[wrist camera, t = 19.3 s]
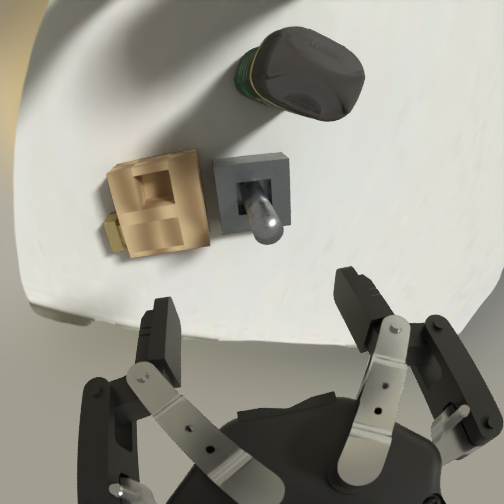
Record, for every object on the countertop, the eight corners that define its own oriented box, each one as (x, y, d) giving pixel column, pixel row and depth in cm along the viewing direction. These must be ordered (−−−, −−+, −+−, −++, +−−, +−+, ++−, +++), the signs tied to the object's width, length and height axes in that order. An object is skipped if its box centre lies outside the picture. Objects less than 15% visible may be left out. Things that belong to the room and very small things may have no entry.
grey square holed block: (212, 160, 39) (213, 167, 36) (281, 152, 40) (289, 158, 37) (221, 222, 44) (222, 234, 41) (284, 213, 45) (290, 224, 42)
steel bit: (238, 181, 40) (252, 220, 29) (260, 178, 41) (283, 216, 30) (240, 201, 42) (254, 246, 31) (262, 198, 42) (283, 242, 31)
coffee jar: (226, 93, 34) (243, 93, 19) (246, 43, 31) (280, 7, 15) (291, 115, 37) (352, 138, 22) (311, 68, 34) (383, 61, 18)
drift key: (109, 214, 41) (103, 224, 38) (156, 205, 41) (153, 214, 38) (118, 241, 43) (112, 252, 40) (163, 234, 44) (160, 244, 41)
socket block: (137, 241, 44) (130, 258, 40) (116, 164, 37) (106, 174, 33) (209, 229, 45) (210, 245, 41) (196, 148, 38) (195, 156, 34)
